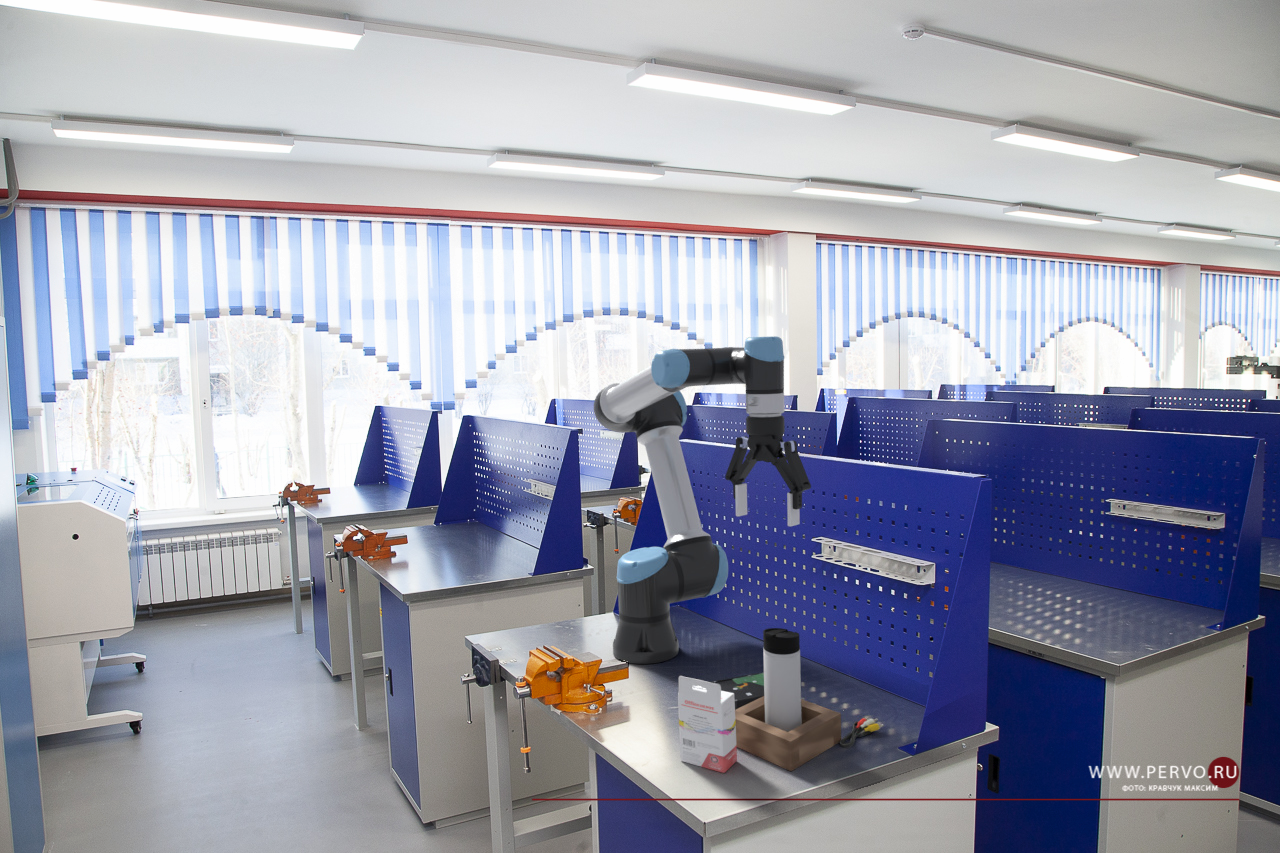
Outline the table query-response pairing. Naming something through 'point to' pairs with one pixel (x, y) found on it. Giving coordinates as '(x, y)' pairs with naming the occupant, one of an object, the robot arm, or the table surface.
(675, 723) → the table surface
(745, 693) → the disk drive
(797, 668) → the travel mug
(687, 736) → the ink cartridge box
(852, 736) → the composite cable
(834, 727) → the mug holder
